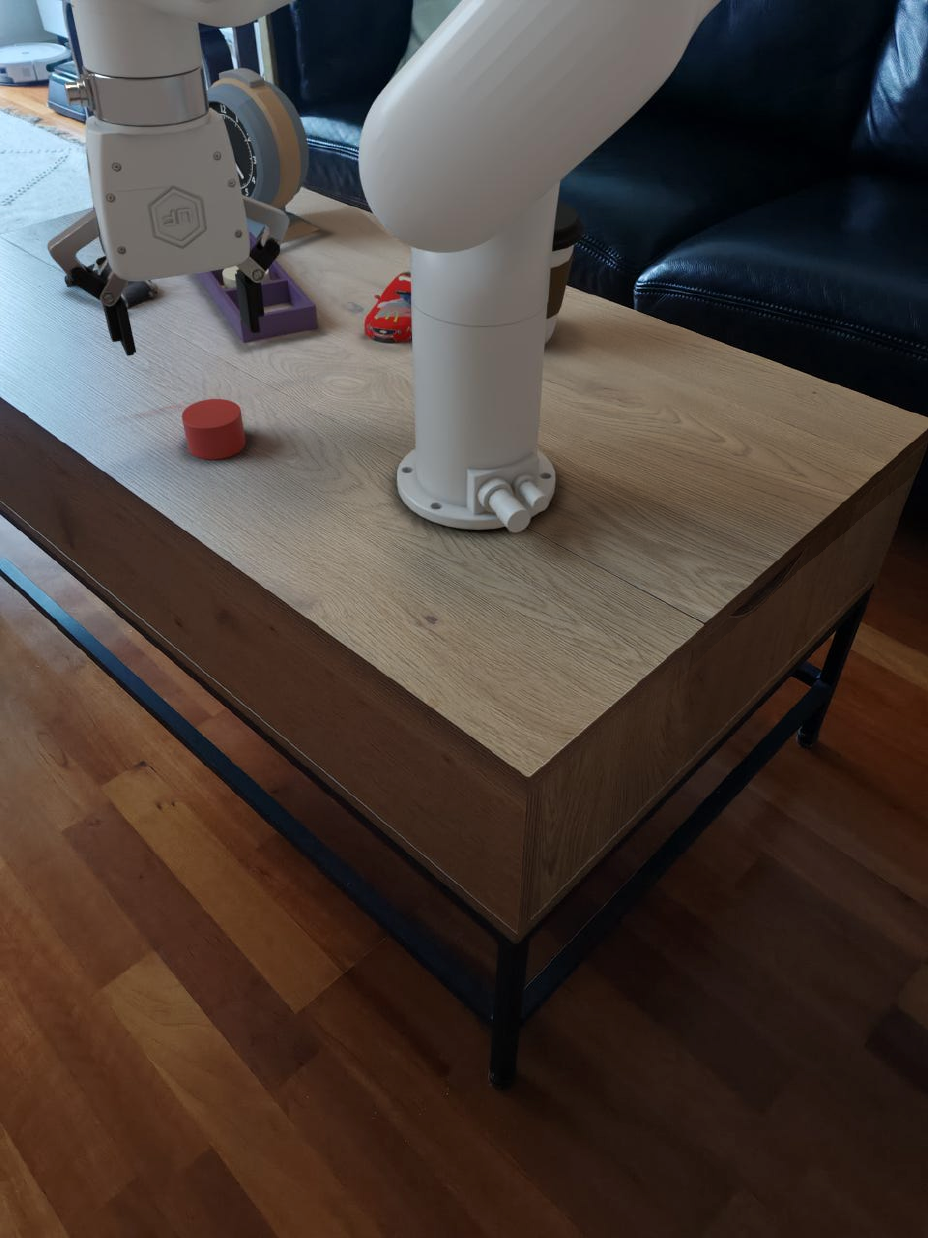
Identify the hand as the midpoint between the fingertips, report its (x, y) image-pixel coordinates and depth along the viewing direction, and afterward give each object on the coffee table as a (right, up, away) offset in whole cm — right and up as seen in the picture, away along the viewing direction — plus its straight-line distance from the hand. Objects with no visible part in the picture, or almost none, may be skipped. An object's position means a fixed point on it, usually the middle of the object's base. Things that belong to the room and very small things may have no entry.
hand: (190, 336), depth 76 cm
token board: (-2, +12, +28) cm, 30 cm away
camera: (-16, +12, +28) cm, 35 cm away
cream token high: (-2, +13, +27) cm, 30 cm away
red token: (0, -7, +6) cm, 10 cm away
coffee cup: (+27, +6, +22) cm, 35 cm away
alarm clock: (-3, +25, +42) cm, 49 cm away
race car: (+15, +8, +24) cm, 30 cm away
